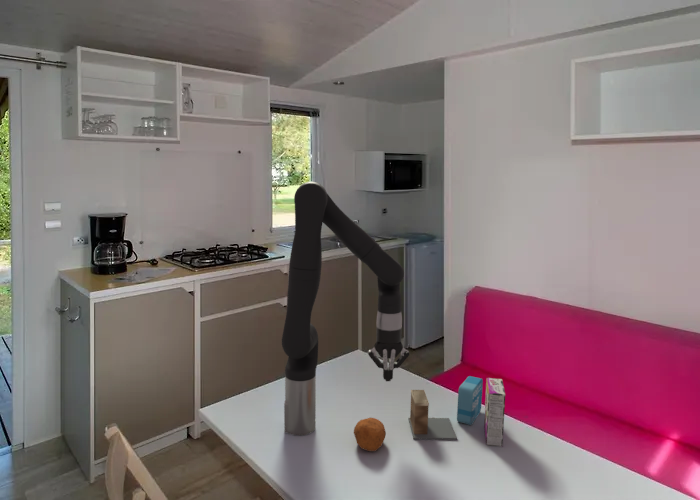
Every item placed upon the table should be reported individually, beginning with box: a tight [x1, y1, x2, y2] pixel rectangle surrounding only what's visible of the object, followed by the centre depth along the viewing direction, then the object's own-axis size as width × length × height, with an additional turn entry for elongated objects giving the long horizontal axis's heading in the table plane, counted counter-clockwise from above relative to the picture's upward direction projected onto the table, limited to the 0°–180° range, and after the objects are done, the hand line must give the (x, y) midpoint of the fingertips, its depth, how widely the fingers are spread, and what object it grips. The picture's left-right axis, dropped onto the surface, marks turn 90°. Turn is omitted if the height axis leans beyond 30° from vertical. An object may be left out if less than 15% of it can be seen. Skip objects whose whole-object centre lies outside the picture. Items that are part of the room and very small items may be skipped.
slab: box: [409, 389, 430, 434], centre depth 156 cm, size 4×9×10 cm, turn 1°
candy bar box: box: [483, 377, 506, 448], centre depth 152 cm, size 11×5×16 cm, turn 168°
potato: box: [353, 417, 387, 452], centre depth 147 cm, size 9×11×8 cm
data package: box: [456, 375, 484, 426], centre depth 164 cm, size 12×4×12 cm, turn 150°
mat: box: [408, 417, 458, 441], centre depth 157 cm, size 13×12×1 cm
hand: (387, 380), depth 154 cm, fingers closed
